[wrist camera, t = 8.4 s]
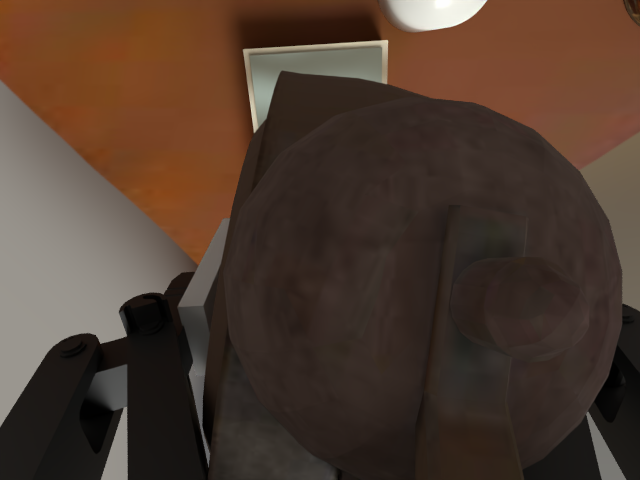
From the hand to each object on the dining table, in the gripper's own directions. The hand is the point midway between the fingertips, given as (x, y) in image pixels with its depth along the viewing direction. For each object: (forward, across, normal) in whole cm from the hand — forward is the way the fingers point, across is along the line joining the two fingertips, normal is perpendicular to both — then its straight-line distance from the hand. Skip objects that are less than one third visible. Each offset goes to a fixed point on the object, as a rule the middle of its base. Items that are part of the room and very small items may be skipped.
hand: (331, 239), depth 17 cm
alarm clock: (+4, 0, 0) cm, 4 cm away
